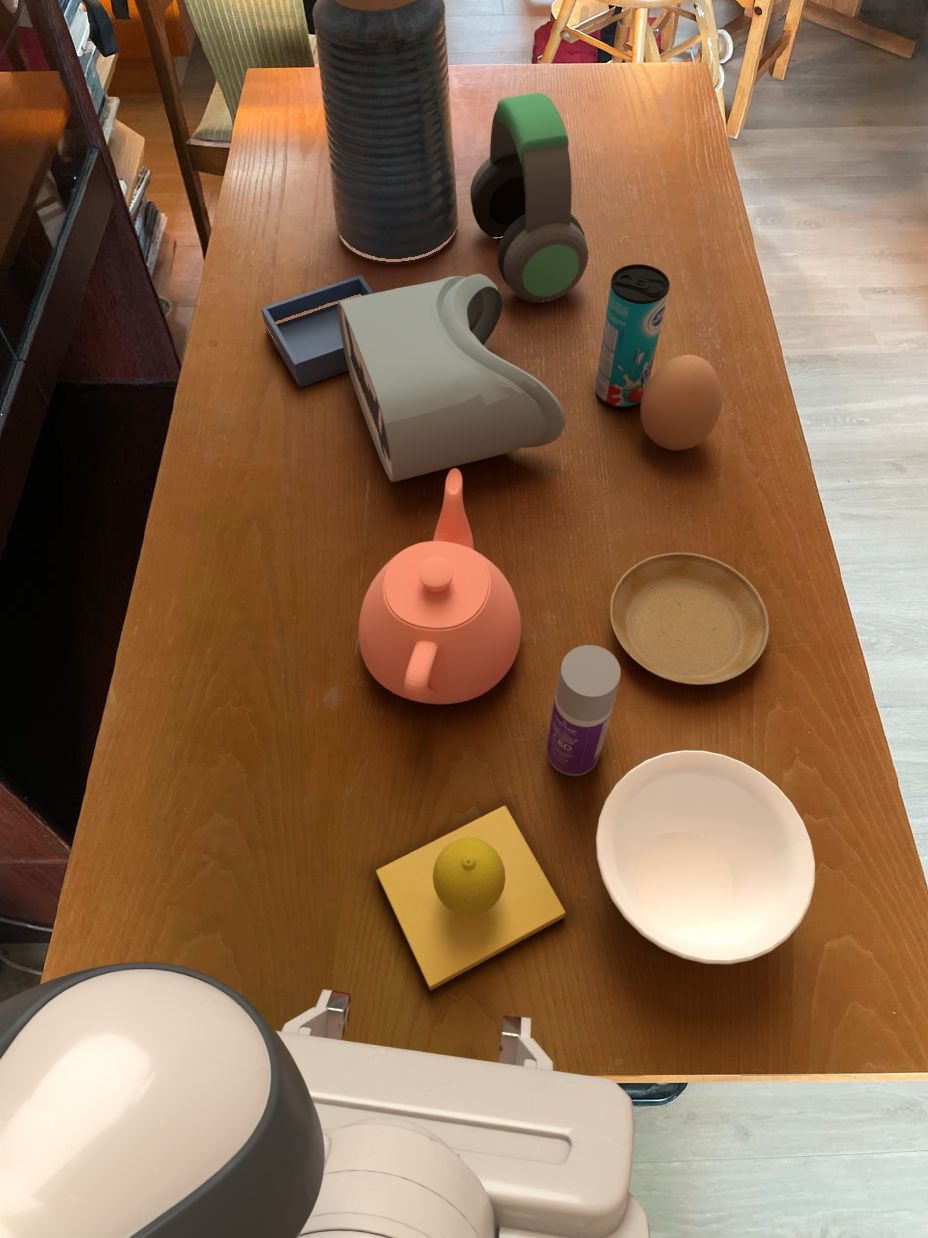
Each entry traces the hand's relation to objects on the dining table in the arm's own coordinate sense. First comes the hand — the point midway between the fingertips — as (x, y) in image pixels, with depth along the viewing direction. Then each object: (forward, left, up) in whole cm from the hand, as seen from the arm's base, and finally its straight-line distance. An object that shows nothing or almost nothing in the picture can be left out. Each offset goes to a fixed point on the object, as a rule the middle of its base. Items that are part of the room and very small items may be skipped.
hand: (425, 1014), depth 46 cm
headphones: (+51, +79, -23) cm, 97 cm away
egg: (+50, +44, -23) cm, 71 cm away
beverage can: (+49, +53, -23) cm, 76 cm away
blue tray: (+23, +77, -23) cm, 83 cm away
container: (+21, +17, -23) cm, 36 cm away
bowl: (+23, +3, -23) cm, 33 cm away
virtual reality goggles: (+30, +59, -23) cm, 70 cm away
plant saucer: (+37, +23, -23) cm, 49 cm away
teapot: (+16, +33, -23) cm, 43 cm away
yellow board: (+7, +10, -23) cm, 26 cm away
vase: (+40, +93, -23) cm, 104 cm away
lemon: (+7, +10, -21) cm, 25 cm away
